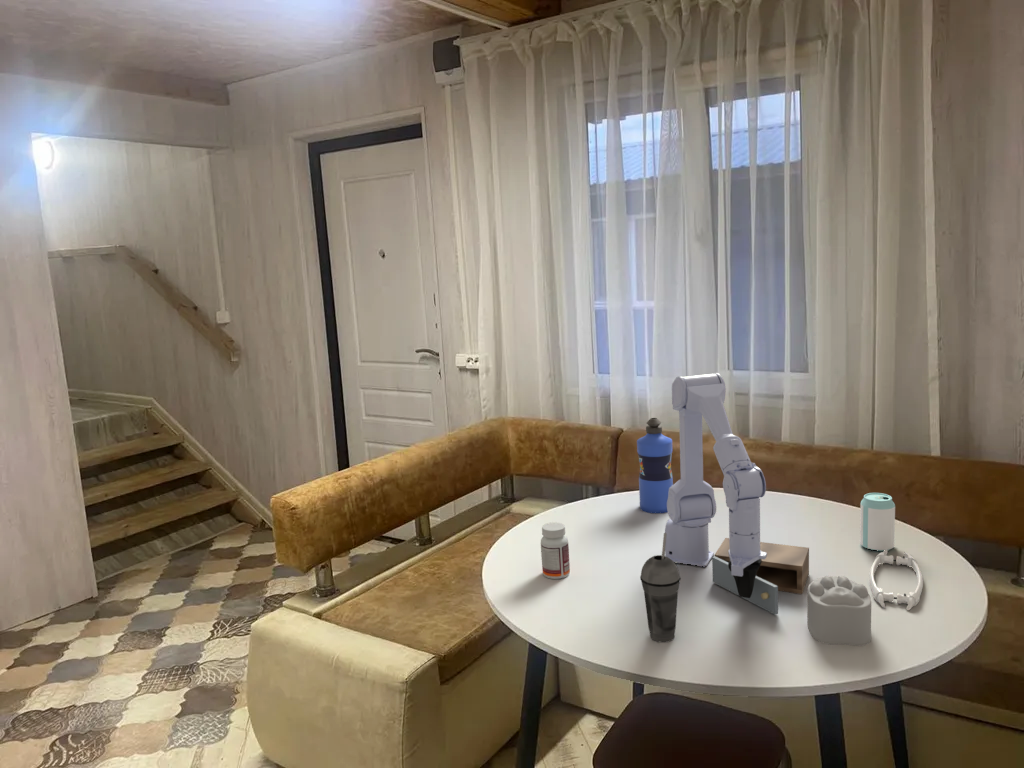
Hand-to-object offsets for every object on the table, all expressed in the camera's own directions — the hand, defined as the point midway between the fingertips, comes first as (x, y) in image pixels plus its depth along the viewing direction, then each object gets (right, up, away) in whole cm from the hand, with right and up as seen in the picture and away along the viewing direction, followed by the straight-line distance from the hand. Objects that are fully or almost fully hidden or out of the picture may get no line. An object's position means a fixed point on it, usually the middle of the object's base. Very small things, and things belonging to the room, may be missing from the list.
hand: (745, 596), depth 151 cm
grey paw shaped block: (+15, -4, -8) cm, 17 cm away
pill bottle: (-36, -1, +23) cm, 42 cm away
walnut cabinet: (+8, 0, +14) cm, 16 cm away
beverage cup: (-18, -6, -7) cm, 20 cm away
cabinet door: (+1, -2, +5) cm, 5 cm away
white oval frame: (+33, 0, +8) cm, 34 cm away
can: (+38, +4, +26) cm, 46 cm away
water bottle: (-6, +7, +60) cm, 61 cm away
